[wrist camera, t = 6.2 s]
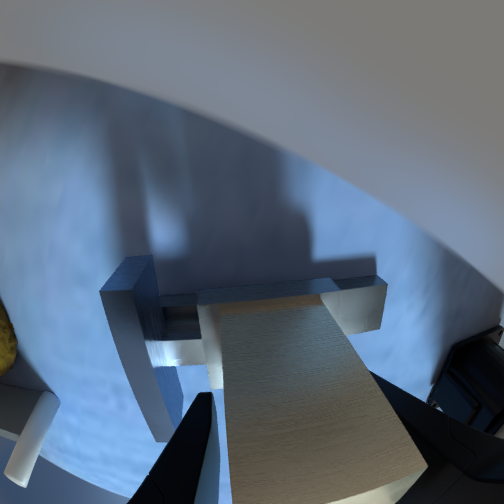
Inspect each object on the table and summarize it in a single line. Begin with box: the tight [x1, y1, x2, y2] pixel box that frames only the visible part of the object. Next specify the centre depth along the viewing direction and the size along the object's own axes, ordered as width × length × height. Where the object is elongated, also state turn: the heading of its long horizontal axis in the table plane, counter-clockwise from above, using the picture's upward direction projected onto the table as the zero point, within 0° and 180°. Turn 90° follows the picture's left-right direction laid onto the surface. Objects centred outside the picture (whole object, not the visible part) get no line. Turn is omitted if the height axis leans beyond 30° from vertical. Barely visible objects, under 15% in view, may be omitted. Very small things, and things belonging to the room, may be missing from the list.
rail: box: [160, 275, 388, 336], centre depth 12 cm, size 10×2×1 cm, turn 93°
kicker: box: [99, 255, 428, 504], centre depth 8 cm, size 8×7×8 cm
